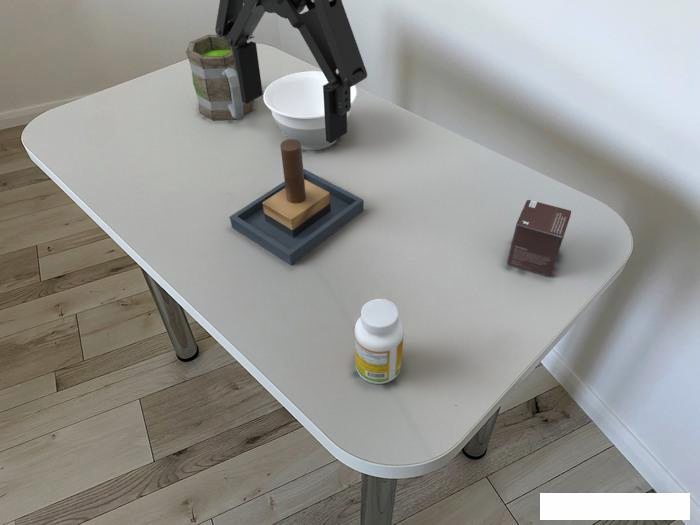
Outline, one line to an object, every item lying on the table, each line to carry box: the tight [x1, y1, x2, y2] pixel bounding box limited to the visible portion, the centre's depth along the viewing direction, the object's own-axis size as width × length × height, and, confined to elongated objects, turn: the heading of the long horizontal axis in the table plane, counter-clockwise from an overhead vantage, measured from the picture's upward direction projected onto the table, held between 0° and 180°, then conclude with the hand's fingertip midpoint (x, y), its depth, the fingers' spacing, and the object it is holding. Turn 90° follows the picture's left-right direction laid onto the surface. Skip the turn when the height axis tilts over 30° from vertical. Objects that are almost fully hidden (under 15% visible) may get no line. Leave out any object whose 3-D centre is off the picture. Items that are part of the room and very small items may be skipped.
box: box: [506, 199, 572, 277], centre depth 77 cm, size 6×6×7 cm
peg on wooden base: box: [263, 138, 331, 238], centre depth 82 cm, size 8×6×12 cm
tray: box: [229, 168, 365, 266], centre depth 86 cm, size 16×13×2 cm
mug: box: [185, 33, 255, 121], centre depth 105 cm, size 16×11×12 cm
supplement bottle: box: [354, 298, 405, 385], centre depth 64 cm, size 5×5×10 cm
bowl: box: [262, 70, 359, 151], centre depth 100 cm, size 16×16×9 cm
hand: (292, 117), depth 67 cm, fingers open, 13 cm apart
